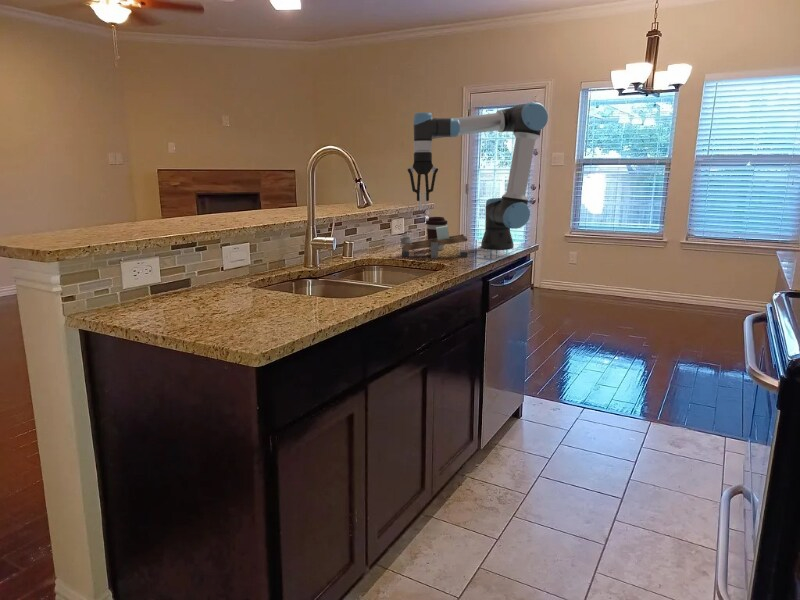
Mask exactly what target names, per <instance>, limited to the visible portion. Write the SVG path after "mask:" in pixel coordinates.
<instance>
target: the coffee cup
mask: <svg viewBox="0 0 800 600" xmlns="http://www.w3.org/2000/svg"><path fill="white" fill-rule="evenodd" d="M425 225H426V226H427V227H426V234H427V240H430V239H436V238H437V231H436V227H441V226H447V225H448V220H446V219H445V217H443V216H430V217H429V218H428V220H425ZM443 249H444V250H445V245H440V246H438V251H443ZM428 250H430V251H431V247H428Z"/></svg>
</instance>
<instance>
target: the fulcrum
mask: <svg viewBox="0 0 800 600" xmlns="http://www.w3.org/2000/svg"><path fill="white" fill-rule="evenodd" d="M401 258H410V250H408V251H402V250H401ZM459 258H468V249H460V250H459ZM430 259H439V250H438V242H431V250H430Z"/></svg>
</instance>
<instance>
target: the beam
mask: <svg viewBox="0 0 800 600" xmlns="http://www.w3.org/2000/svg"><path fill="white" fill-rule="evenodd" d="M431 242H438V246H440V245H444V246H446V245H450V244H452V245H453V244H457V243H464V242H465V243H466V242H468V237H467V235H464V233H463V234H461V233H460V234H454V235H449V239H443V240H438V238H436V239H430V240H428V239H424V240H423V239H422V240H418V241H417V240H416V241H412V239H411V234H408V235H403V236H400V244H401V252H402V251H408V250H409V251H414V250H419V249H427V248H429V247H431Z"/></svg>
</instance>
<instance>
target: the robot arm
mask: <svg viewBox="0 0 800 600" xmlns="http://www.w3.org/2000/svg"><path fill="white" fill-rule="evenodd" d="M548 114H549V113H548V111H547V109H546V107H545V106H544V105H543V104H542V103H540V102H537V101H535V102H531V101H530V102H527V103H524V104H523V103H522V104H517V105H514V106H512V107H509V108H508V107H507V108H505V109H500V110H497V111H496V112H493V113H486V114H485V113H484V114H478V115H470V116H462V117H461V116H460V117H453V118H452V117H447V118H446V117H445V118H444V117H443V118H435V117H433V114H432V113H431V112H416V113H415V114H414V115H413V151H414V153H413V164H412V166H411V167H409V168H407V172H408V174H409V178H410V184H411V190H412V192H413V193H415V194H416V201H417V202H419V210H422V193H421V192H420V191H421V178H422V175H424V180H425V193H424V198H423V199H424V200H423V201H424V210H426V209H427V202H429V201H430V193H431V192H433V191H434V188H435V187H434V186H435V181H436V177H437V174H438V172H439V168H437V167H435V166H434V164H433V153H432V151H433V140H434V139H442V138H457V137H458V136H465V135H472V134H480V133H487V132H488V133H489V132H495V131H497V132H498V133H505V132H507V133H511V132H512V135H513V136H514V137H515V141H514V147H513V150H512V151H513V152H512V156H511V157H512V158H511V163H510V164H511V165H510V169H509V174H508V180H507V186H506V192H505V193H504V194H503V195H501V197H495V198H493V197H492V198H488V199H487V200H486V202H485V226H484V227H485V228H484V233H483V237H482V240H481V242H480V246H481V247H480V248H483V249H490V250H510V249H512V248H514V241H513V236H512V234H511V229H512V230H513V229H516V230H517V229H520V228H522V227H524V226H525V225H526V224H527V223H528V222H529V220H530V217H531V210H530V208H529V206H528V202H529V199H528V197H527V195H526V194H527V189H528V183H529V180H530V179H529V177H530V173H531V166H532V161H533V156H534V155H533V154H534V151H535V145H536V141H537V139H539V138H540V137H541V132H542V129H544V128H545V126H546V125H547V124H548V121H549V115H548ZM414 171H415V172H416V174H417V181H416V182H417V185H415V179H414ZM431 171H432V179H431V183H430V185H429V176H428V175H429V174H430V172H431ZM429 186H430V187H429Z"/></svg>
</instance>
